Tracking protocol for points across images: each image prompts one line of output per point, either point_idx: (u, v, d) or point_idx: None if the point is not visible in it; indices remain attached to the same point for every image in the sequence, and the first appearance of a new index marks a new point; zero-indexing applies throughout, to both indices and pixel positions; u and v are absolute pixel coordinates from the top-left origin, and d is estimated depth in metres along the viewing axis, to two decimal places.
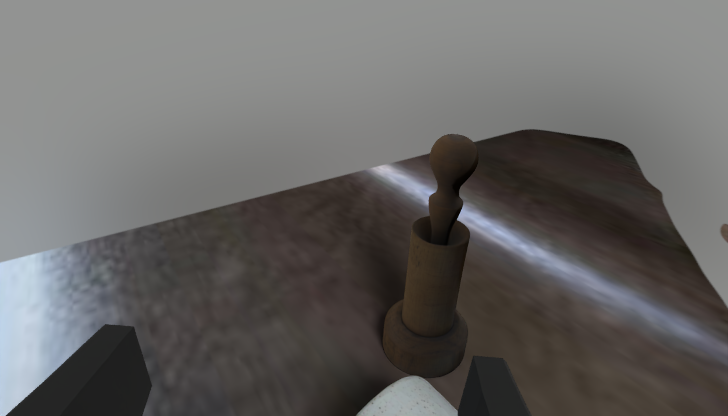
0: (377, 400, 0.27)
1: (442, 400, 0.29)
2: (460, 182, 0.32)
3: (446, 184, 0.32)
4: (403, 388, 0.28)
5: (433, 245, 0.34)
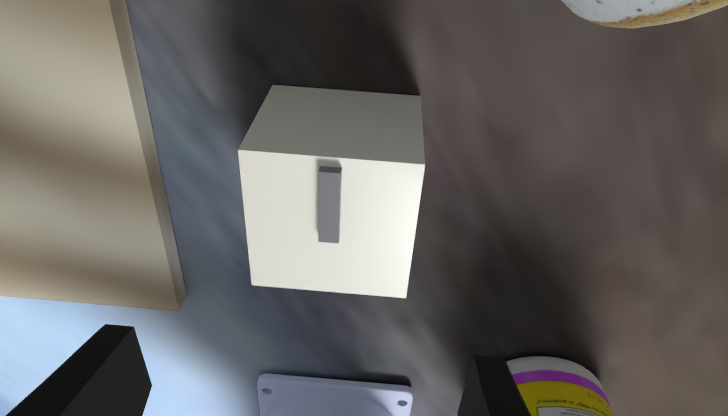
0: None
1: None
2: None
3: None
4: None
5: None
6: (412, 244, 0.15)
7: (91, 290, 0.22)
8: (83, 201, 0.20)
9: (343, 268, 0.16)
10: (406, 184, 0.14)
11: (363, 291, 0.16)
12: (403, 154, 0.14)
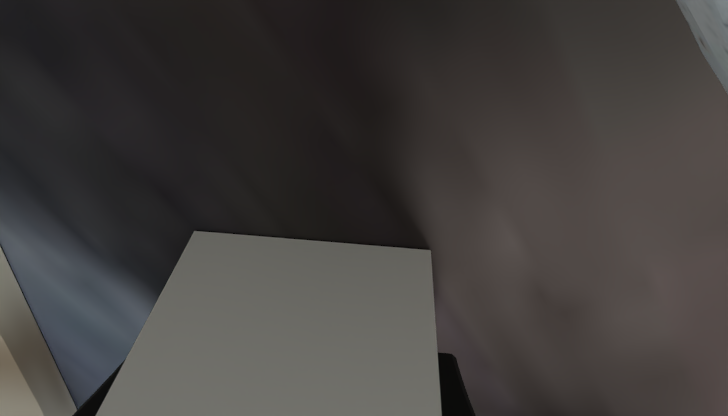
0: None
1: None
2: None
3: None
4: None
5: None
6: None
7: None
8: None
9: None
10: None
11: None
12: None
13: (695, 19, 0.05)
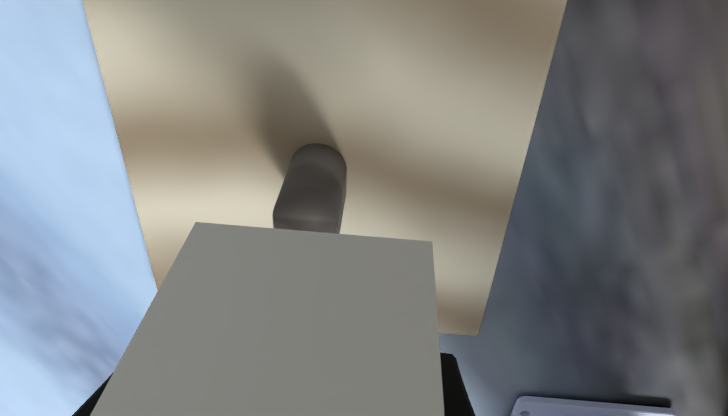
0: None
1: None
2: None
3: None
4: None
5: None
6: None
7: None
8: (430, 230, 0.19)
9: None
10: None
11: None
12: (405, 414, 0.07)
13: None
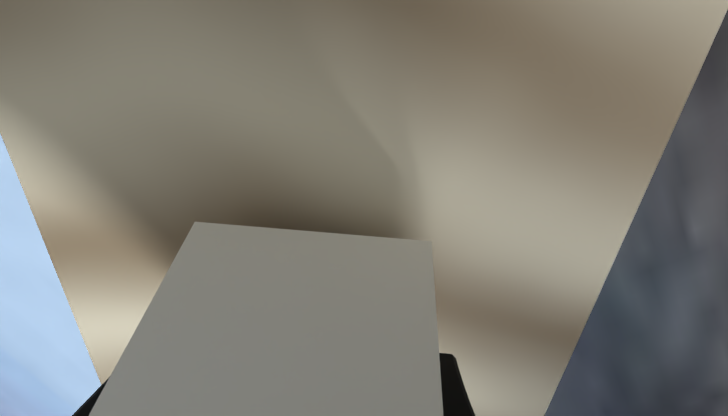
0: None
1: None
2: None
3: None
4: None
5: None
6: None
7: None
8: (468, 357, 0.15)
9: None
10: None
11: None
12: (404, 414, 0.07)
13: None
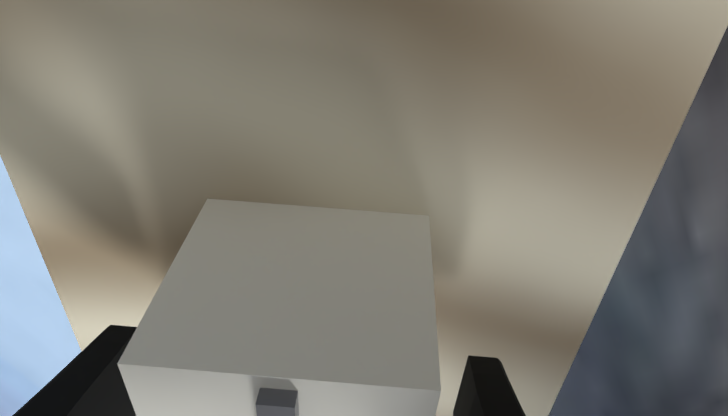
0: None
1: None
2: None
3: None
4: None
5: None
6: None
7: None
8: None
9: None
10: (408, 414, 0.08)
11: None
12: (403, 363, 0.08)
13: None
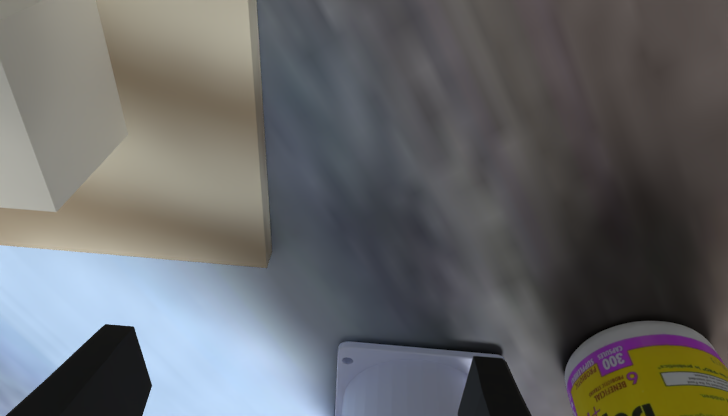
0: None
1: None
2: None
3: None
4: None
5: None
6: (27, 138, 0.13)
7: (173, 244, 0.20)
8: (178, 138, 0.18)
9: None
10: None
11: (4, 203, 0.14)
12: None
13: None
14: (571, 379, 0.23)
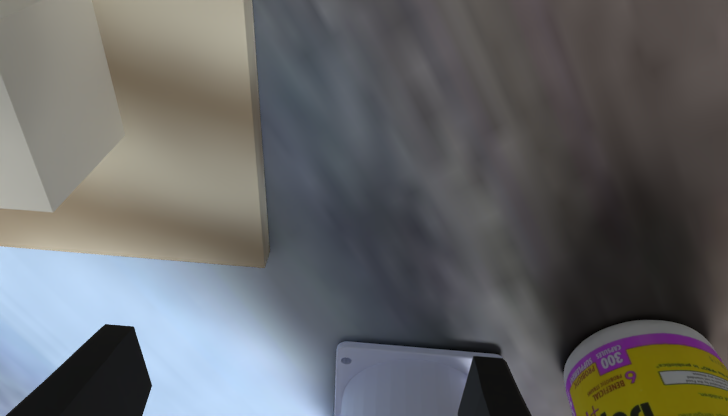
0: None
1: None
2: None
3: None
4: None
5: None
6: (23, 139, 0.13)
7: (171, 244, 0.20)
8: (175, 139, 0.18)
9: None
10: None
11: (1, 204, 0.14)
12: None
13: None
14: (570, 378, 0.23)
